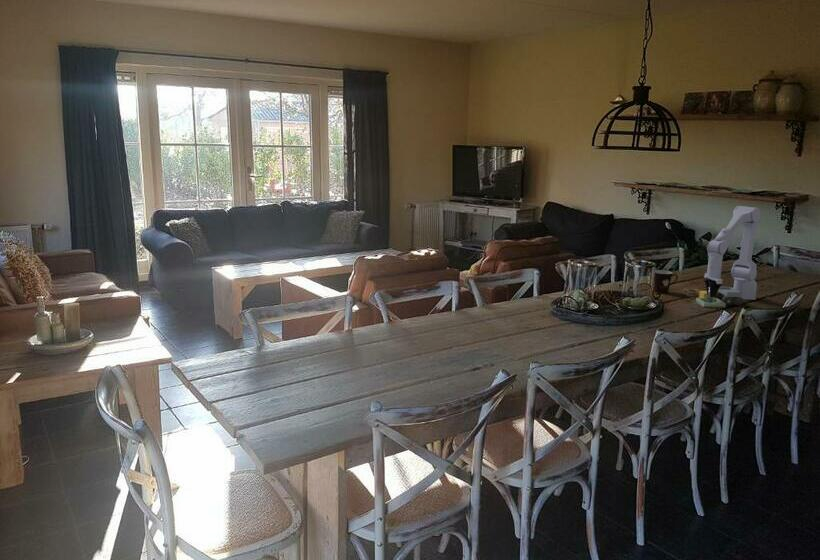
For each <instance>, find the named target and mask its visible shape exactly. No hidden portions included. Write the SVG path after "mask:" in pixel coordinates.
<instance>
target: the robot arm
mask: <svg viewBox="0 0 820 560" xmlns="http://www.w3.org/2000/svg"><path fill="white" fill-rule="evenodd" d="M761 214H762V212H761V210H760V208H759V207H757V206H756V207H752V206H744V205H737V206H736V207H735V208H734V209H733V211H732V217H731V220H730V221H729V223H728V224H727V226H726V228H722V229H721V230H720V232H719V233H718V234H717V236H716V237H715V238H714V239H712V240H711V241H709V242H708V243H707V246H706V250H707V256H708V260H707V261H708V262H707V269H706V272H705V273H704V275H703V277H704V279H703V281H704V284H705V289H706V290H705V291H707V295H708V291H709V289H708V287H710V297H716V294H717V292H718V290H719V288H720V287H722V285H723V279H722V277H721V276H722V269H723V268H722V266H723V258H724V257H723V256H724V254H725V253H726V252H727V249H728V246H729V243H730V241H731V240H732V239H733V238H734V236H735V234H734V232H735V231H736V230H737V229H738V228H739V227H740V226H741V225H743V232H742V239H741V245H740V252H739V257H738V258H739V259H736V260H735V261H733V264H732V267H731V270H730V275H731V277H732V279H733V281H734V282H733V287H732V288H734V289H736V290H738V291H740V292H741V298H743V300H747V301H749V300H750V301H752V300H753V301H754V300H757V296H756V295H757V289H758V284H757V282H756V280H755V279H756V277H757V275H758V271H757V264H756V263H755V262H754V261H753V260H752V258H753V257H752V256H753V251H754V246H755V245H754V244H755V239H756V238H755V237H756V232H757V227H758V225H760V221H761Z"/></svg>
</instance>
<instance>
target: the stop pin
mask: <svg viewBox="0 0 820 560" xmlns="http://www.w3.org/2000/svg"><path fill="white" fill-rule="evenodd" d="M708 289H709V291H708V297H707V303H713V297H710V287H708Z"/></svg>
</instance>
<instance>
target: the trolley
mask: <svg viewBox="0 0 820 560" xmlns="http://www.w3.org/2000/svg"><path fill="white" fill-rule="evenodd" d="M714 298H718V299H719V300H721V301H723V302H724V303H726V306H730V305H732V304H734V305H735V306H737V307H739V306H741V305H743V303H744V299H743V298H741V292H740V291H738V290H736V289H734V288H733V287H732V286H720V288H719V290H718V292H717V294H716V297H714Z"/></svg>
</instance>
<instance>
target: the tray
mask: <svg viewBox="0 0 820 560" xmlns="http://www.w3.org/2000/svg"><path fill="white" fill-rule="evenodd" d="M695 302H696V304H699V306H701V307H702V308H718V309H719V308H722V309H724V308H726V306H727V305H726V303H724V302H723V301H722V300H719V299H718V298H713V303H707V298H699V297H696V298H695Z"/></svg>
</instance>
